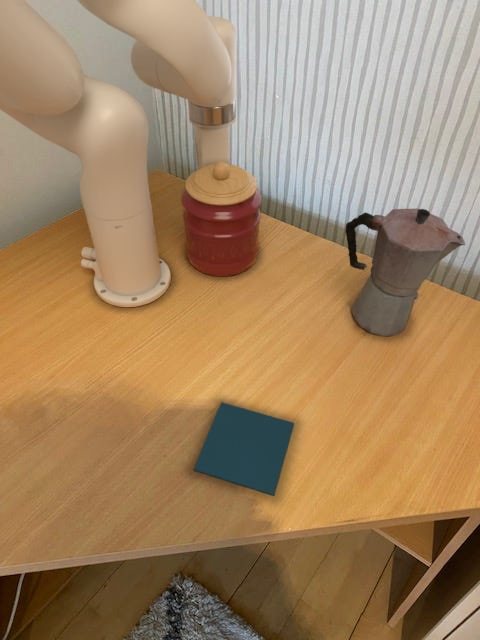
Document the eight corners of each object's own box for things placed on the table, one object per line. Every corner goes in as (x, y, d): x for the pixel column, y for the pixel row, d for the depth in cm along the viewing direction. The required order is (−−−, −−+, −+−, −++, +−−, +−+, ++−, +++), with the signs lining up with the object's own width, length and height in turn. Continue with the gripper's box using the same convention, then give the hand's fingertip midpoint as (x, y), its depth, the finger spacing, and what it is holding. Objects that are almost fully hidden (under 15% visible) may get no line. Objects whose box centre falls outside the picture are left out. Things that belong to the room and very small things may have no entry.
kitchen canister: (261, 277, 81) (268, 185, 68) (185, 279, 80) (177, 187, 67) (255, 231, 90) (259, 142, 77) (186, 232, 89) (179, 143, 76)
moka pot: (429, 347, 71) (481, 240, 56) (325, 331, 73) (349, 222, 58) (425, 303, 77) (470, 196, 63) (330, 289, 79) (353, 182, 65)
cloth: (193, 470, 57) (193, 469, 57) (221, 403, 64) (221, 402, 63) (274, 496, 55) (274, 494, 55) (294, 424, 62) (294, 422, 61)
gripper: (184, 91, 80) (191, 187, 93) (193, 133, 70) (200, 233, 83) (228, 88, 81) (229, 184, 94) (243, 129, 71) (242, 229, 84)
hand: (215, 207), depth 89 cm, fingers closed
